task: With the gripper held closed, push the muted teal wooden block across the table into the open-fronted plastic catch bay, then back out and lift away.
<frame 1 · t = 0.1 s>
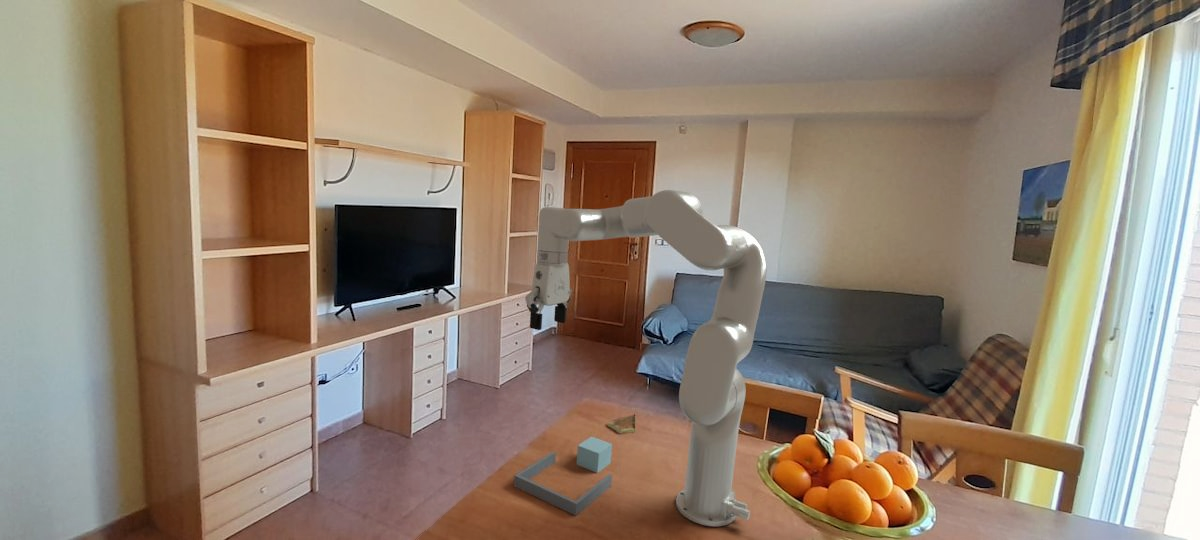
hand: (548, 325, 126), 31 cm above the table, tool pointing down, fingers open, 9 cm apart
shard: (621, 427, 144), on the table
teal block: (593, 464, 122), on the table
catch bay: (564, 485, 112), on the table
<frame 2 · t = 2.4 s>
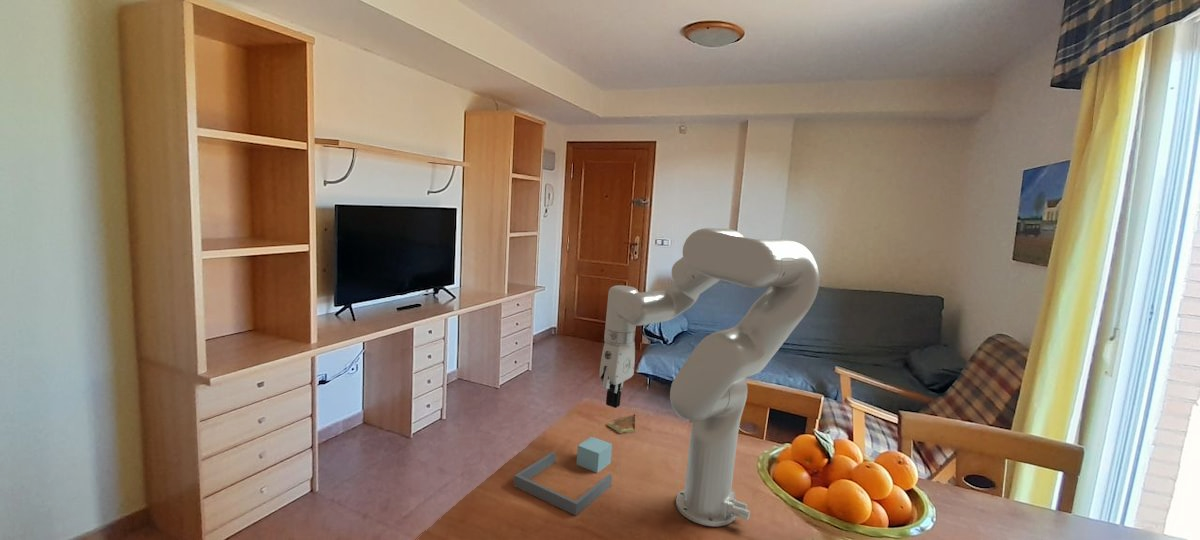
hand: (612, 405, 127), 12 cm above the table, tool pointing down, fingers closed
nothing on the table moved.
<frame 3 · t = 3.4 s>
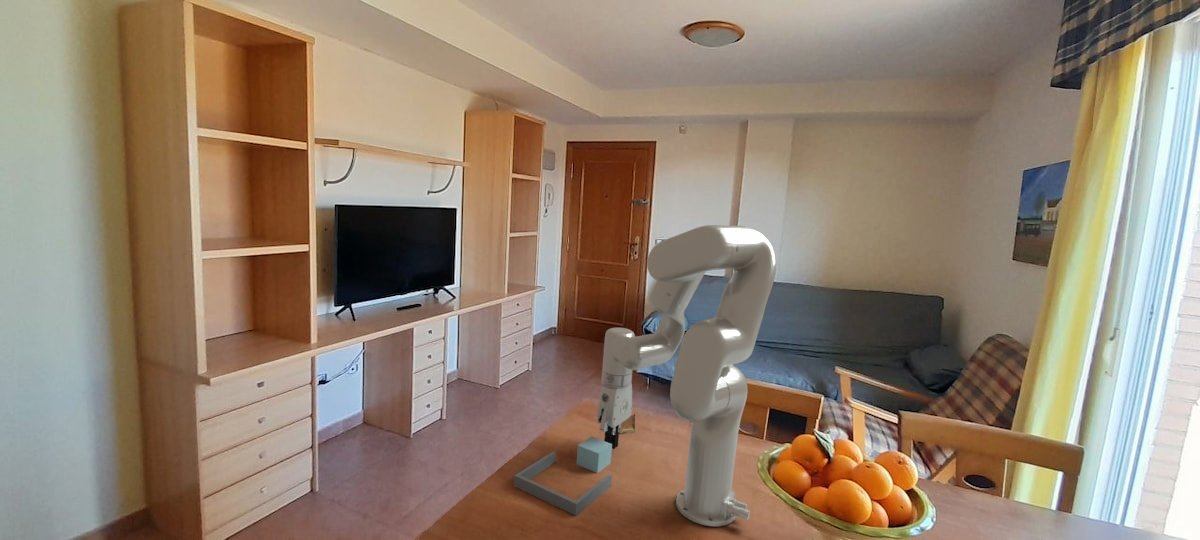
hand: (610, 446, 128), 1 cm above the table, tool pointing down, fingers closed
nothing on the table moved.
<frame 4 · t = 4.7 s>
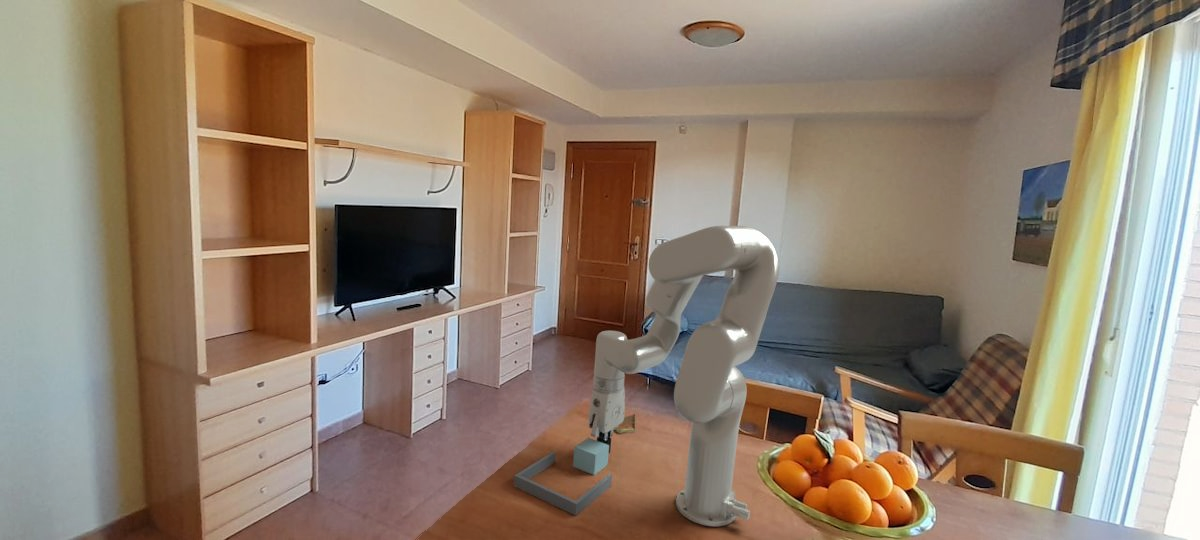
hand: (603, 452, 125), 1 cm above the table, tool pointing down, fingers closed
teal block: (590, 465, 121), on the table, touching gripper
everything else where it was.
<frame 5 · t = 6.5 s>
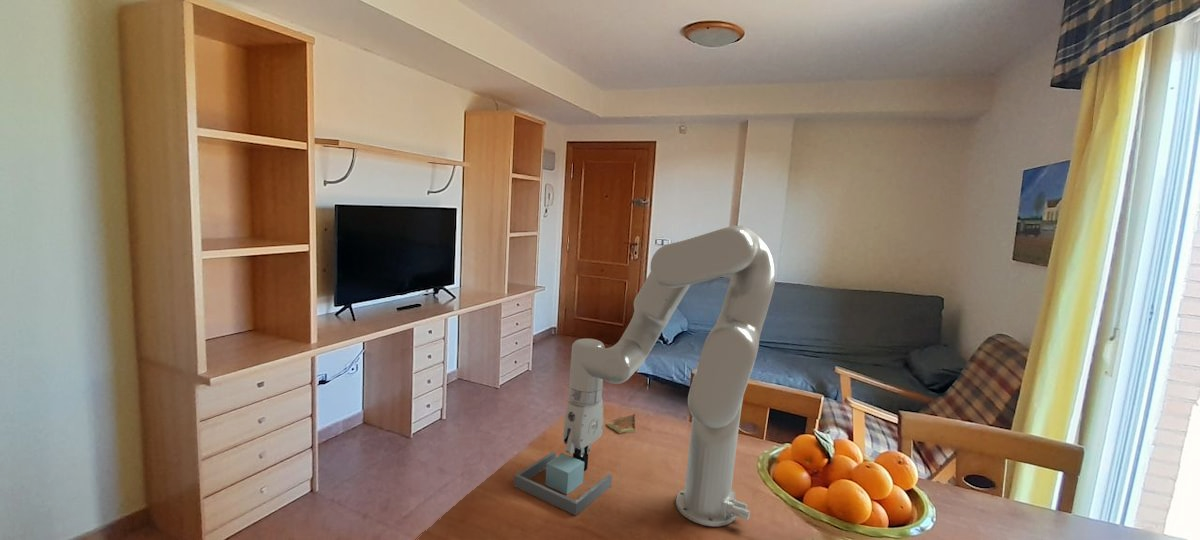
hand: (579, 469, 117), 1 cm above the table, tool pointing down, fingers closed
teal block: (564, 483, 112), on the table, touching gripper
everything else where it was.
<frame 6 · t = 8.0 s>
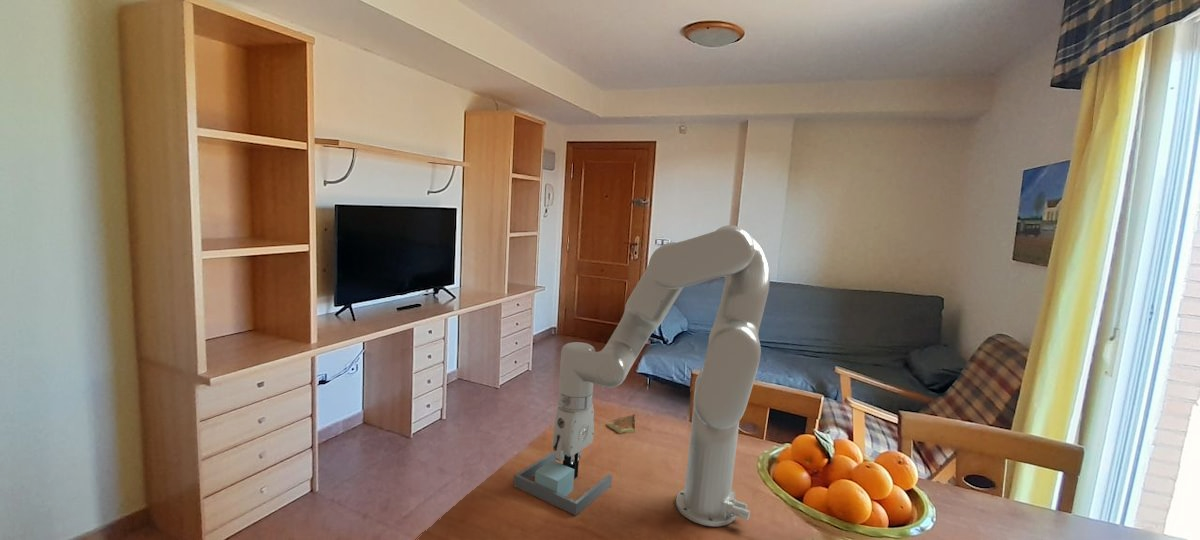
hand: (569, 476, 113), 1 cm above the table, tool pointing down, fingers closed
teal block: (553, 491, 109), on the table, touching catch bay, gripper
everything else where it was.
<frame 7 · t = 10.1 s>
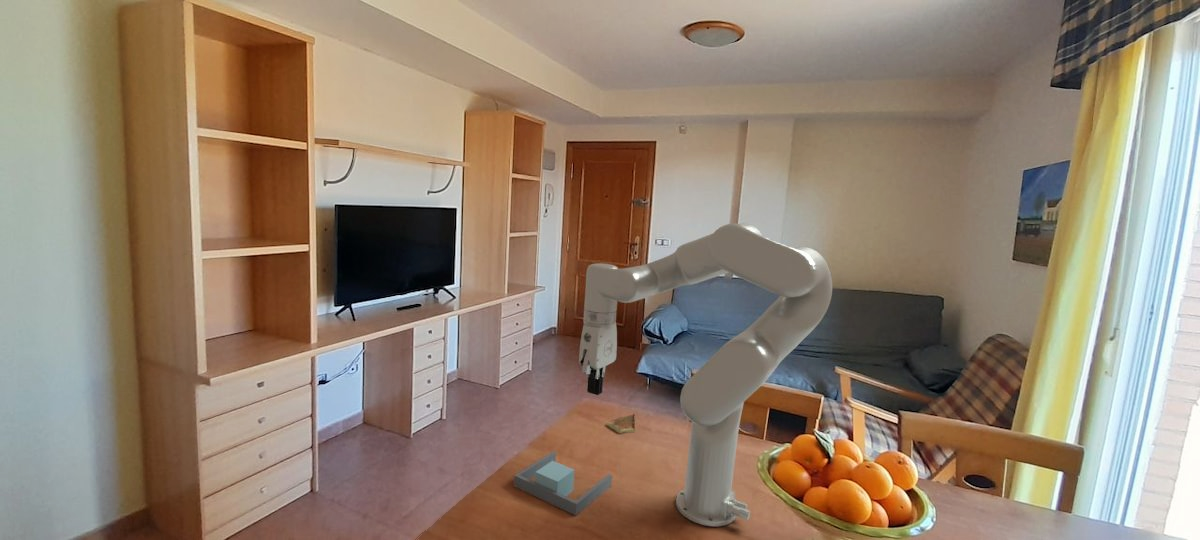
hand: (594, 392, 119), 18 cm above the table, tool pointing down, fingers closed
teal block: (553, 492, 109), on the table
everything else where it was.
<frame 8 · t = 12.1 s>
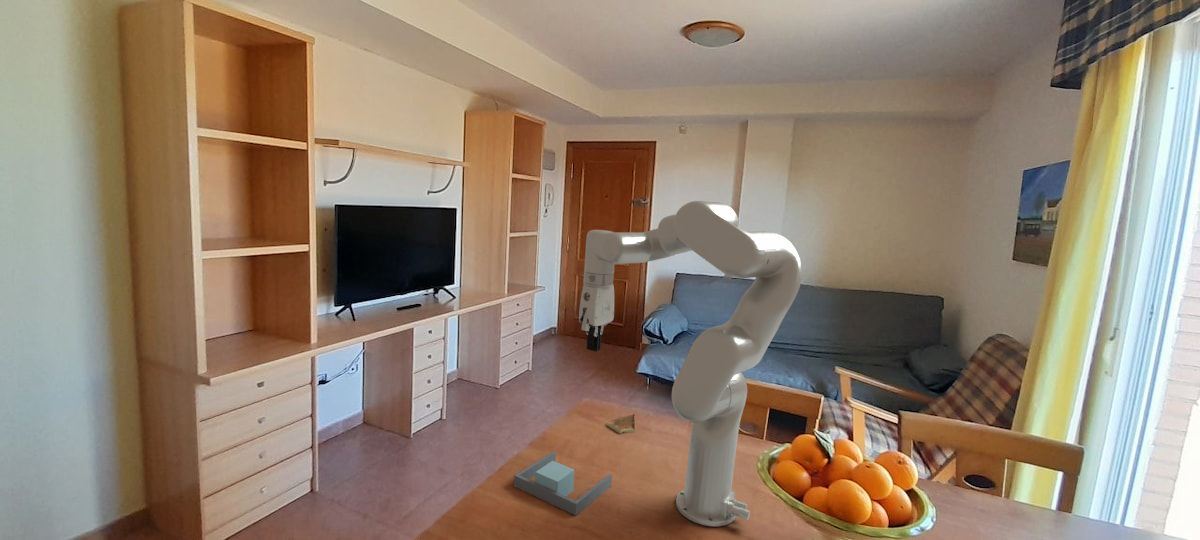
hand: (593, 349, 129), 25 cm above the table, tool pointing down, fingers closed
nothing on the table moved.
at the end: teal block inside the target area (1.5 cm from its centre), on the table; teal block tilted 0° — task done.
